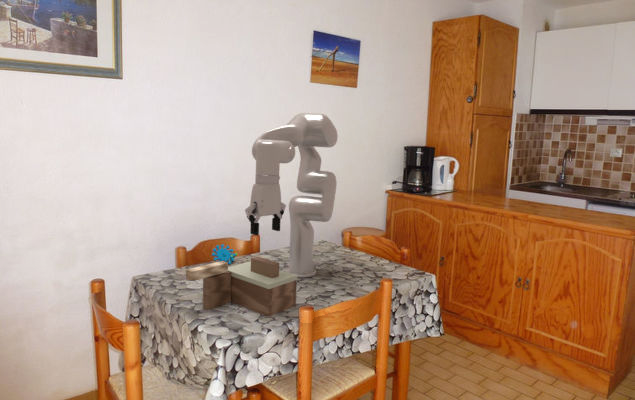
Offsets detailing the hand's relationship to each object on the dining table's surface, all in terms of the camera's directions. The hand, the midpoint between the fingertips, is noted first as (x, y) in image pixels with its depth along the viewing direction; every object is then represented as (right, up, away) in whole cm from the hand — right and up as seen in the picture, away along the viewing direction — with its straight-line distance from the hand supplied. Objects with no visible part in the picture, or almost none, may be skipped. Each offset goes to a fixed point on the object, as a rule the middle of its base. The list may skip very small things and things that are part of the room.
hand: (265, 232), depth 153 cm
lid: (-3, -15, +4) cm, 16 cm away
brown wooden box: (-6, -24, +2) cm, 25 cm away
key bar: (-18, -13, -3) cm, 23 cm away
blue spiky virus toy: (-23, -17, +47) cm, 55 cm away
